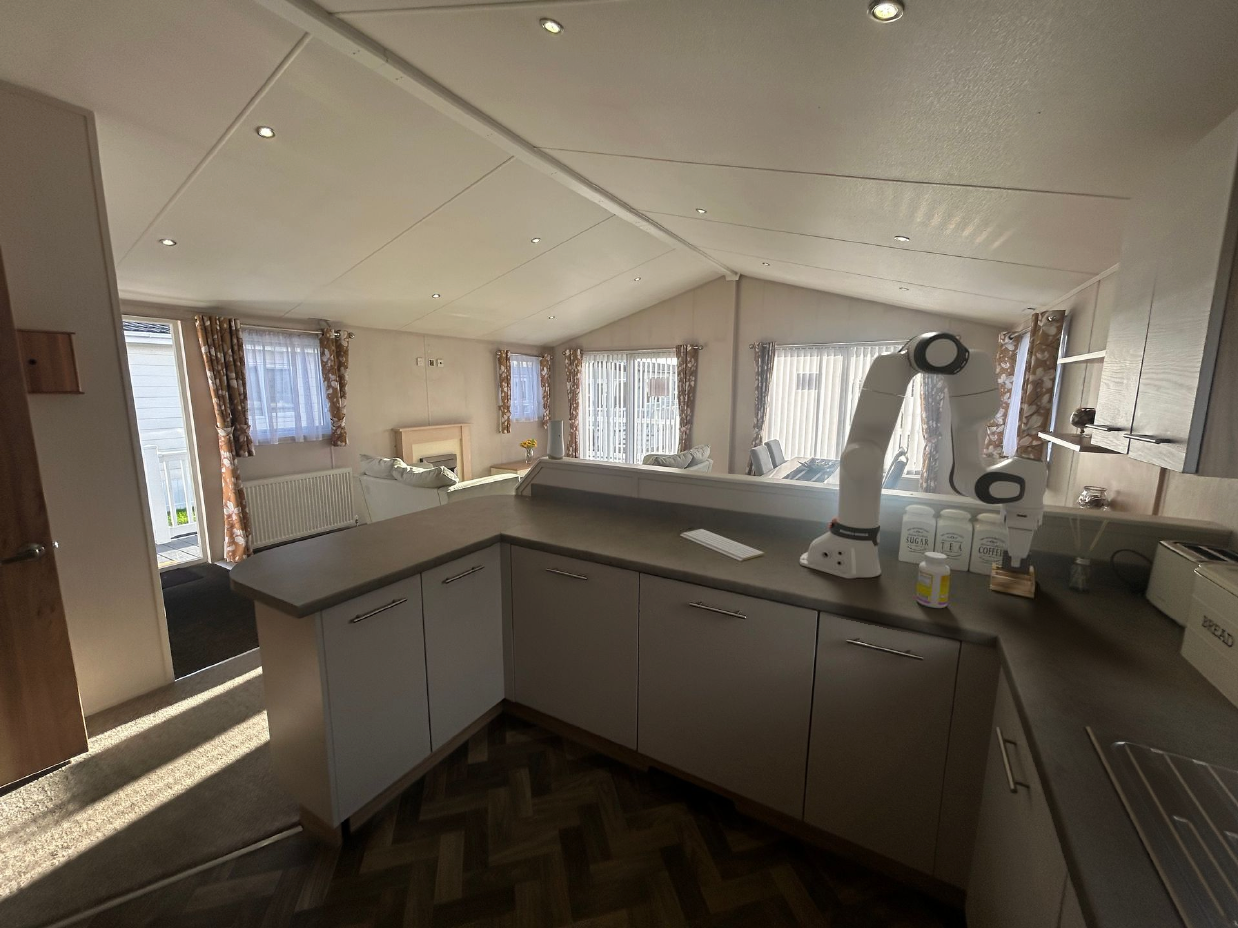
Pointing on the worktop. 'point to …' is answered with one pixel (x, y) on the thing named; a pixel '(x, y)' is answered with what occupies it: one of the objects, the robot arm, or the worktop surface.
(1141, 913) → the worktop surface
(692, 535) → the white keyboard
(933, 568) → the supplement bottle
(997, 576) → the box
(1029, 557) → the panel
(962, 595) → the worktop surface
